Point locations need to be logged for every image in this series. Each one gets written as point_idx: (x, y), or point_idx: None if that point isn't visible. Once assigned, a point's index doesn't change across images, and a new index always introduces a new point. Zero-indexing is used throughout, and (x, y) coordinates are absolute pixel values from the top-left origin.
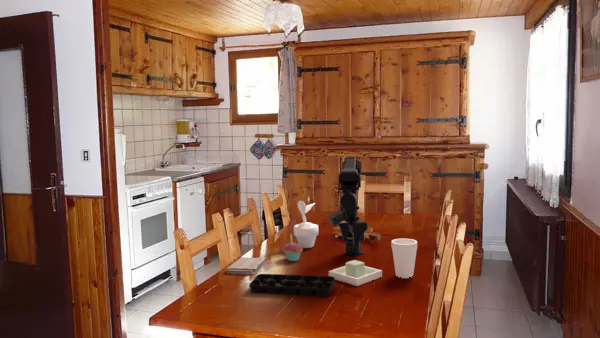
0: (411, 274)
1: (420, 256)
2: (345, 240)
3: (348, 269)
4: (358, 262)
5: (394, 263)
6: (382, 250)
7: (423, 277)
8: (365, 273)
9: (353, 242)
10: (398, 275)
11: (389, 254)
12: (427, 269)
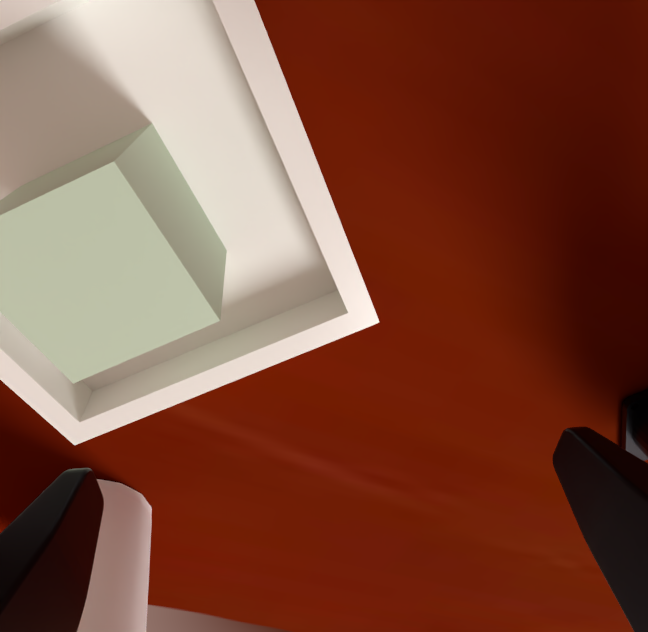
0: None
1: (386, 624)
2: (559, 451)
3: (87, 162)
4: (88, 327)
5: None
6: (583, 538)
7: None
8: None
9: (25, 551)
10: None
11: (503, 546)
12: (177, 608)
